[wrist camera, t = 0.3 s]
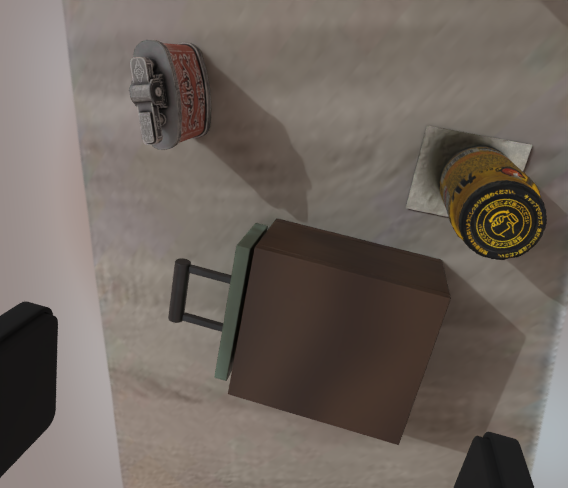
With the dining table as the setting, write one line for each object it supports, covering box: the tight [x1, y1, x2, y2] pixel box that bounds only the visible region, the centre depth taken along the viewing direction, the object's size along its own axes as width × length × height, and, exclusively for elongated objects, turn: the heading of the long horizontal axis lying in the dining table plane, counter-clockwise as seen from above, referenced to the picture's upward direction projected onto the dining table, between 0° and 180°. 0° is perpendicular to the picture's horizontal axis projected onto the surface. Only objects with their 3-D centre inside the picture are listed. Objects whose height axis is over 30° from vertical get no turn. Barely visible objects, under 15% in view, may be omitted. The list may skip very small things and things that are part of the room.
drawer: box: [168, 223, 268, 381], centre depth 47 cm, size 20×13×6 cm, turn 79°
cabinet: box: [228, 219, 451, 445], centre depth 46 cm, size 16×15×8 cm
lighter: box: [129, 40, 211, 150], centre depth 41 cm, size 8×3×10 cm, turn 5°
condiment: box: [406, 126, 547, 260], centre depth 38 cm, size 7×8×12 cm
